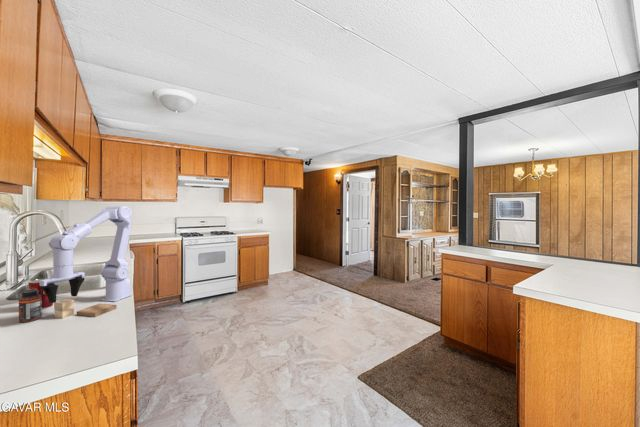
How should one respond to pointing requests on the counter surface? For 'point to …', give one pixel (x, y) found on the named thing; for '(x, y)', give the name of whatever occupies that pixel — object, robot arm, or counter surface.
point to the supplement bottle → (30, 306)
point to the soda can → (40, 293)
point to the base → (96, 310)
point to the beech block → (63, 308)
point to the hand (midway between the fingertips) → (63, 299)
